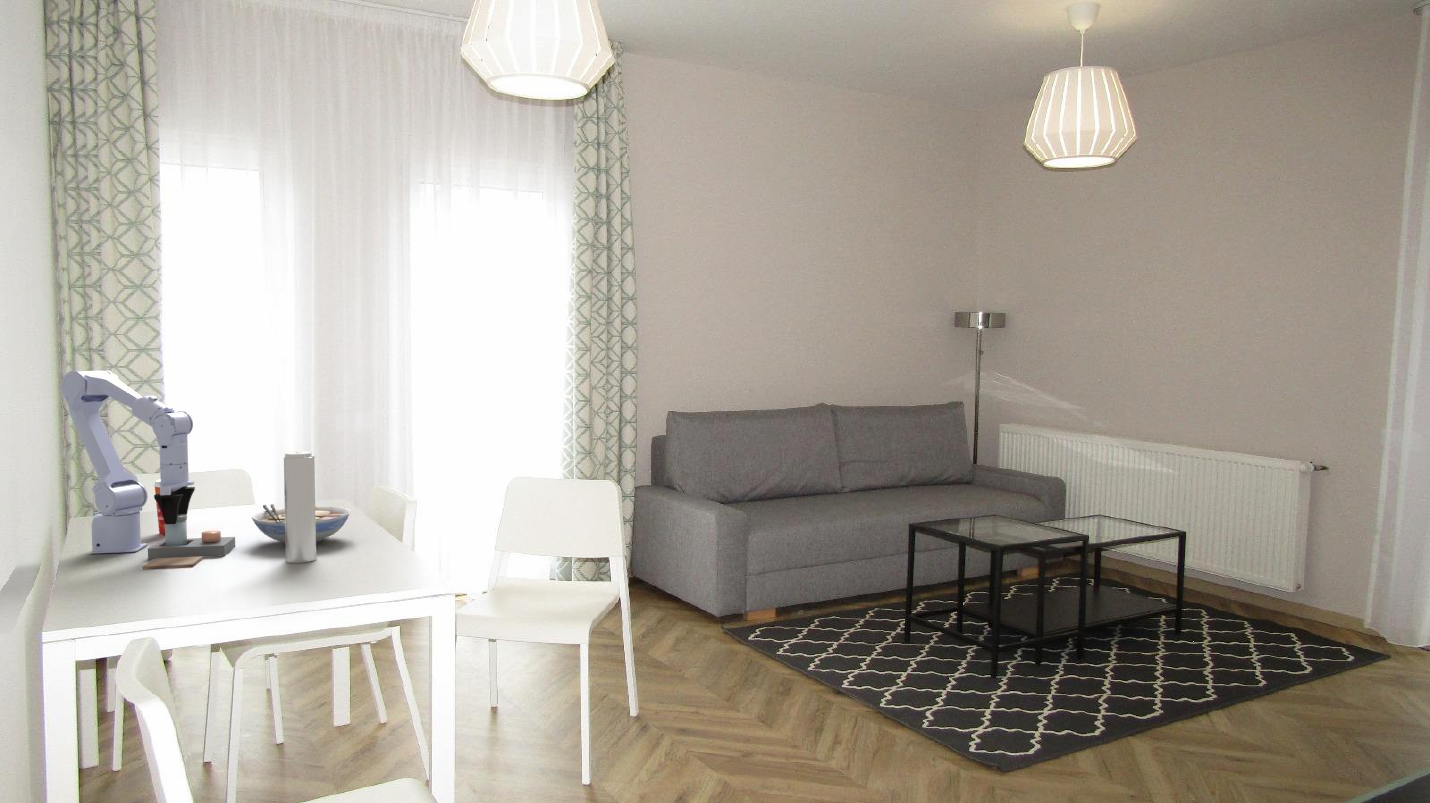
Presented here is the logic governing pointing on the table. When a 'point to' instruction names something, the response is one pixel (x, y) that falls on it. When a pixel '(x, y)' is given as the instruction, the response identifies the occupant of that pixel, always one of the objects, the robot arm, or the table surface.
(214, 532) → the plunger
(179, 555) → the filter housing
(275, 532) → the ramen bowl
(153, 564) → the walnut pad
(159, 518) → the paper cup
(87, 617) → the table surface
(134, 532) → the robot arm
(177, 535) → the cylinder
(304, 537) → the air filter
